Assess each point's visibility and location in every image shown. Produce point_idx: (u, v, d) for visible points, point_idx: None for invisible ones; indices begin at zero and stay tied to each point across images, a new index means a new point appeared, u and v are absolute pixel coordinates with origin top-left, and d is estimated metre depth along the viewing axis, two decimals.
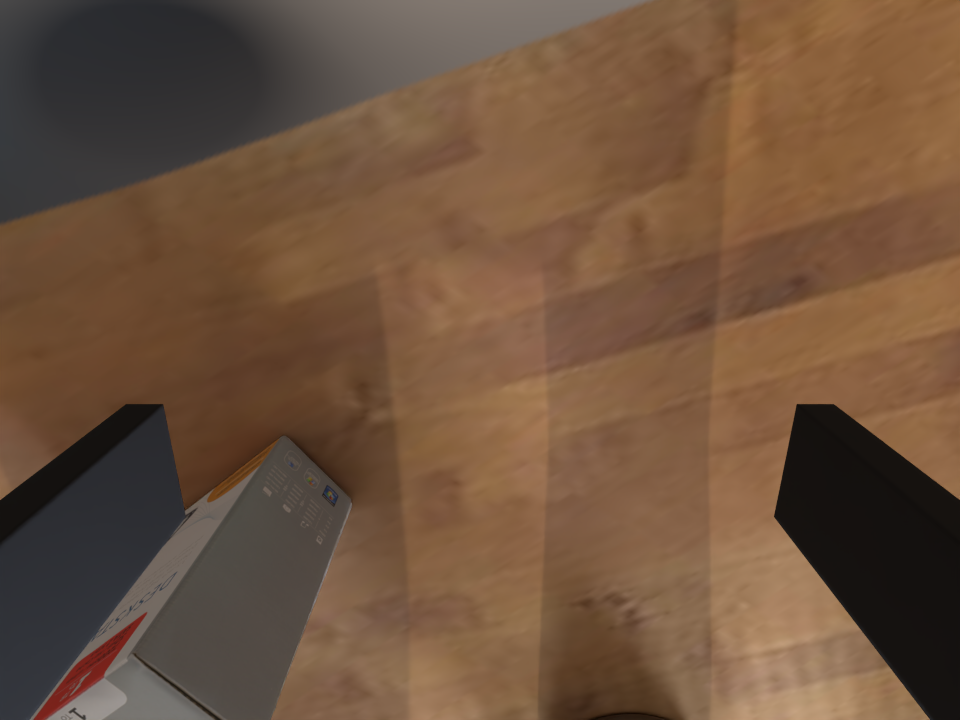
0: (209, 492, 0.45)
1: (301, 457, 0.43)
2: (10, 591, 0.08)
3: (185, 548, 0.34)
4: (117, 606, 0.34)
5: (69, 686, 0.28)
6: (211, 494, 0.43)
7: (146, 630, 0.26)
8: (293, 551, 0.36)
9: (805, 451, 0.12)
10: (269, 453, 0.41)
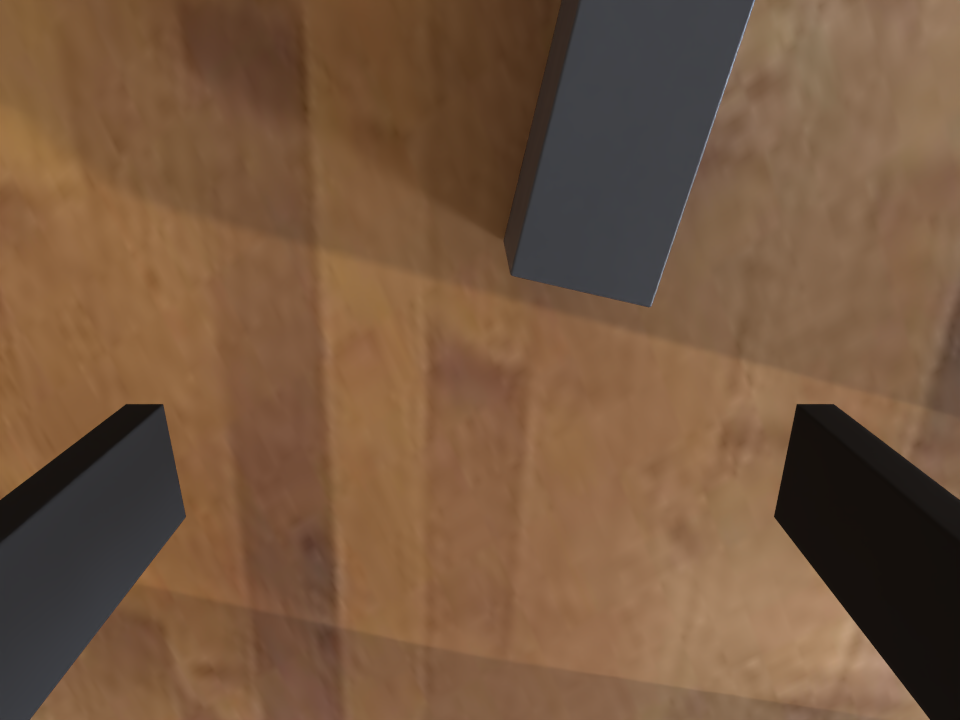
0: None
1: None
2: (10, 591, 0.08)
3: None
4: None
5: None
6: None
7: None
8: None
9: (805, 451, 0.12)
10: None
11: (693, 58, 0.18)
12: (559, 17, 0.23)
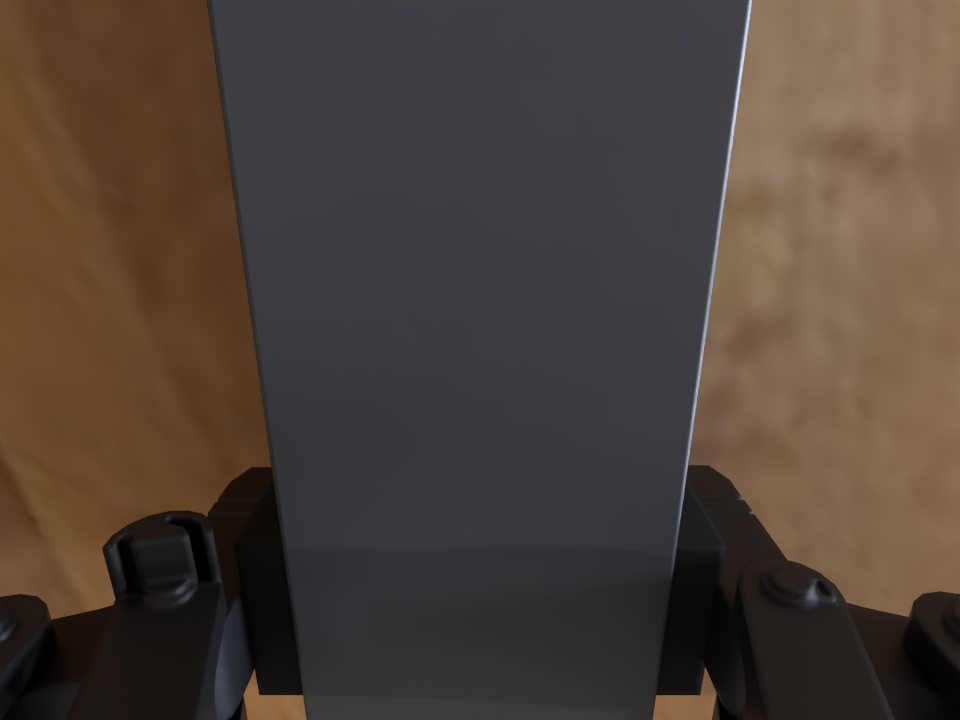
0: None
1: None
2: None
3: None
4: None
5: None
6: None
7: None
8: None
9: None
10: None
11: (577, 585, 0.08)
12: None
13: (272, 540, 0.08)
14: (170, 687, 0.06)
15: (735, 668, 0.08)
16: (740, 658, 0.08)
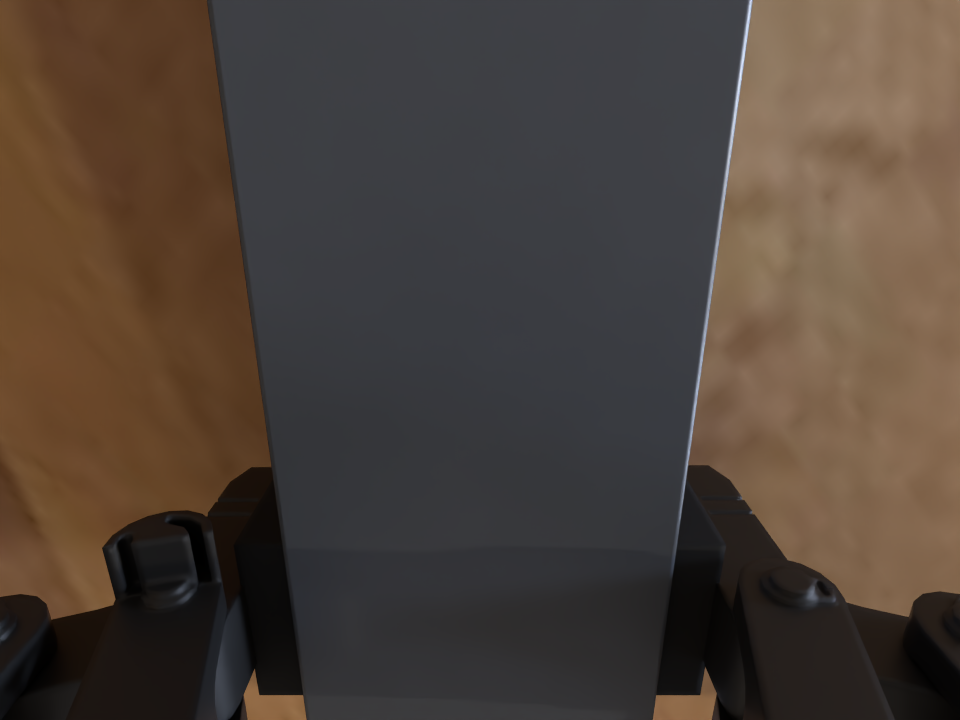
0: None
1: None
2: None
3: None
4: None
5: None
6: None
7: None
8: None
9: None
10: None
11: (577, 585, 0.08)
12: None
13: (272, 540, 0.08)
14: (170, 687, 0.06)
15: (735, 668, 0.08)
16: (740, 658, 0.08)
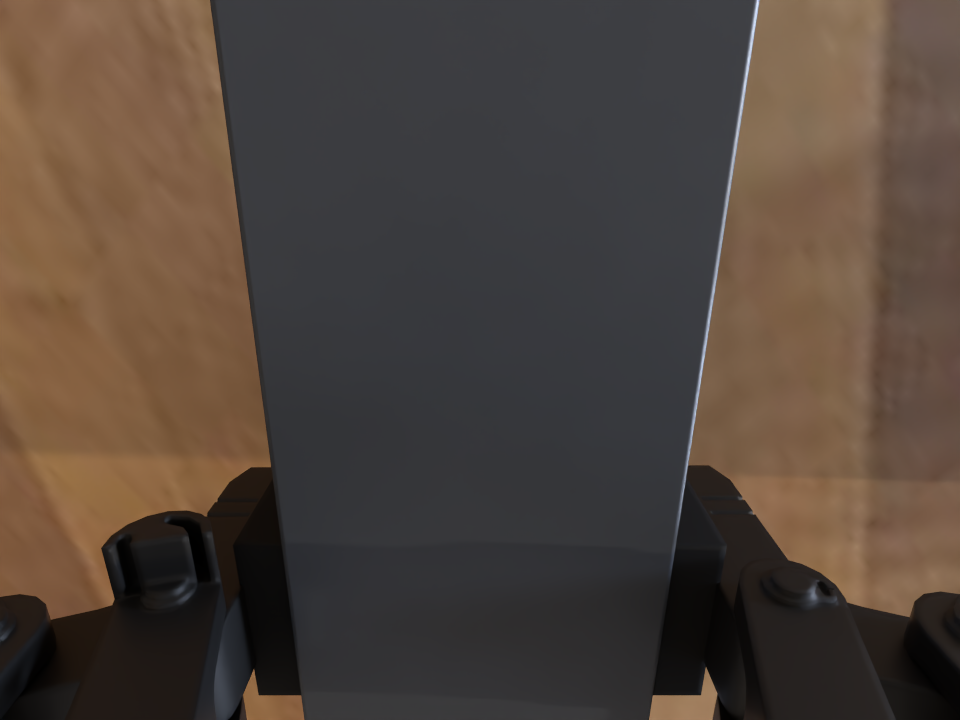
0: None
1: None
2: None
3: None
4: None
5: None
6: None
7: None
8: None
9: None
10: None
11: (576, 583, 0.08)
12: None
13: (272, 540, 0.08)
14: (169, 687, 0.06)
15: (736, 668, 0.08)
16: (741, 658, 0.08)
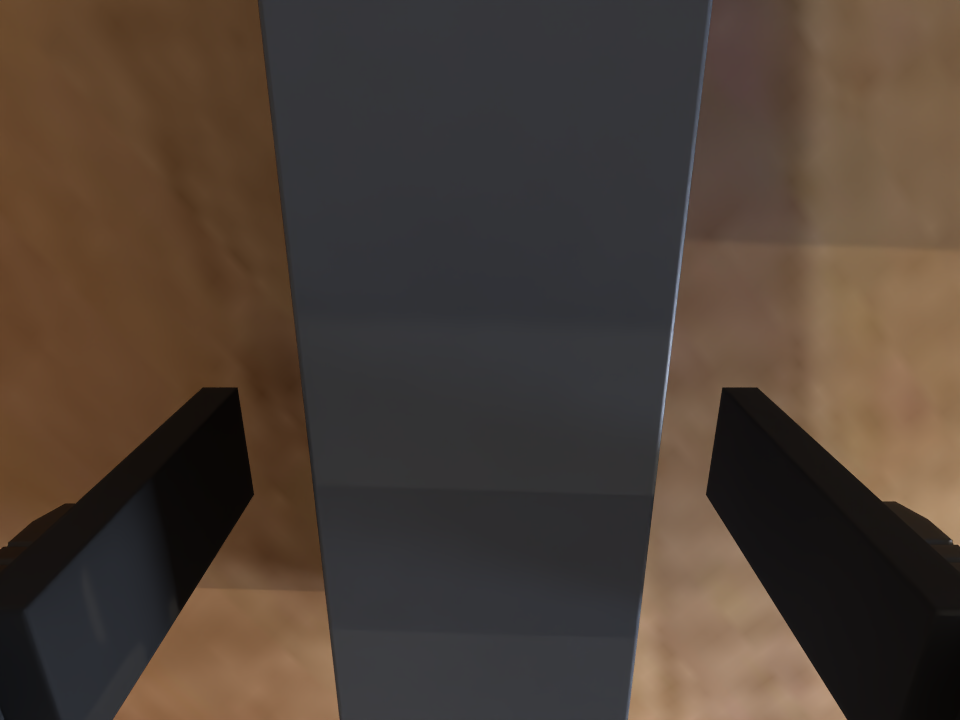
0: None
1: None
2: (131, 550, 0.09)
3: None
4: None
5: None
6: None
7: None
8: None
9: (728, 431, 0.13)
10: None
11: (568, 529, 0.09)
12: None
13: (8, 603, 0.07)
14: None
15: None
16: None
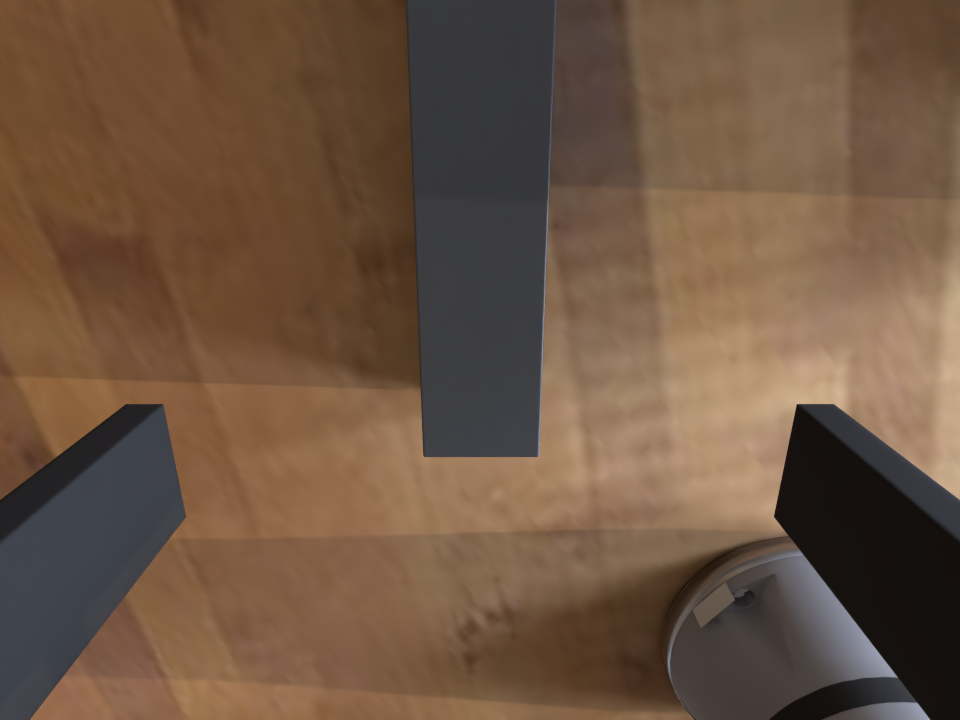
0: None
1: None
2: (10, 591, 0.08)
3: None
4: None
5: None
6: None
7: None
8: None
9: (805, 451, 0.12)
10: None
11: (513, 284, 0.24)
12: None
13: None
14: None
15: None
16: None
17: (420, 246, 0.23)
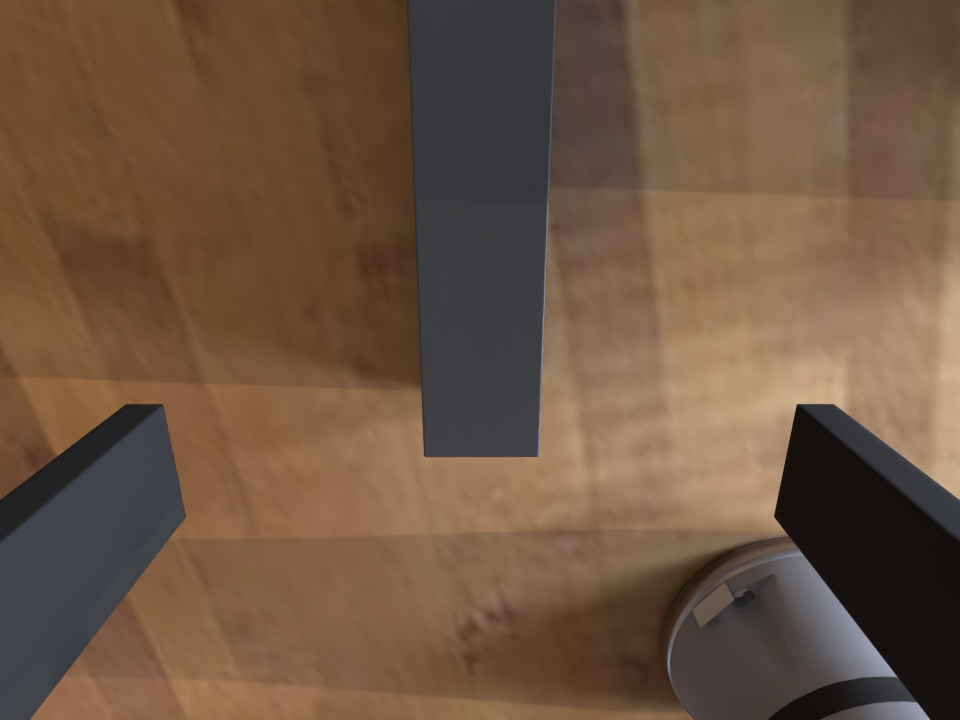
0: None
1: None
2: (10, 591, 0.08)
3: None
4: None
5: None
6: None
7: None
8: None
9: (805, 451, 0.12)
10: None
11: (513, 285, 0.24)
12: None
13: None
14: None
15: None
16: None
17: (421, 247, 0.23)
